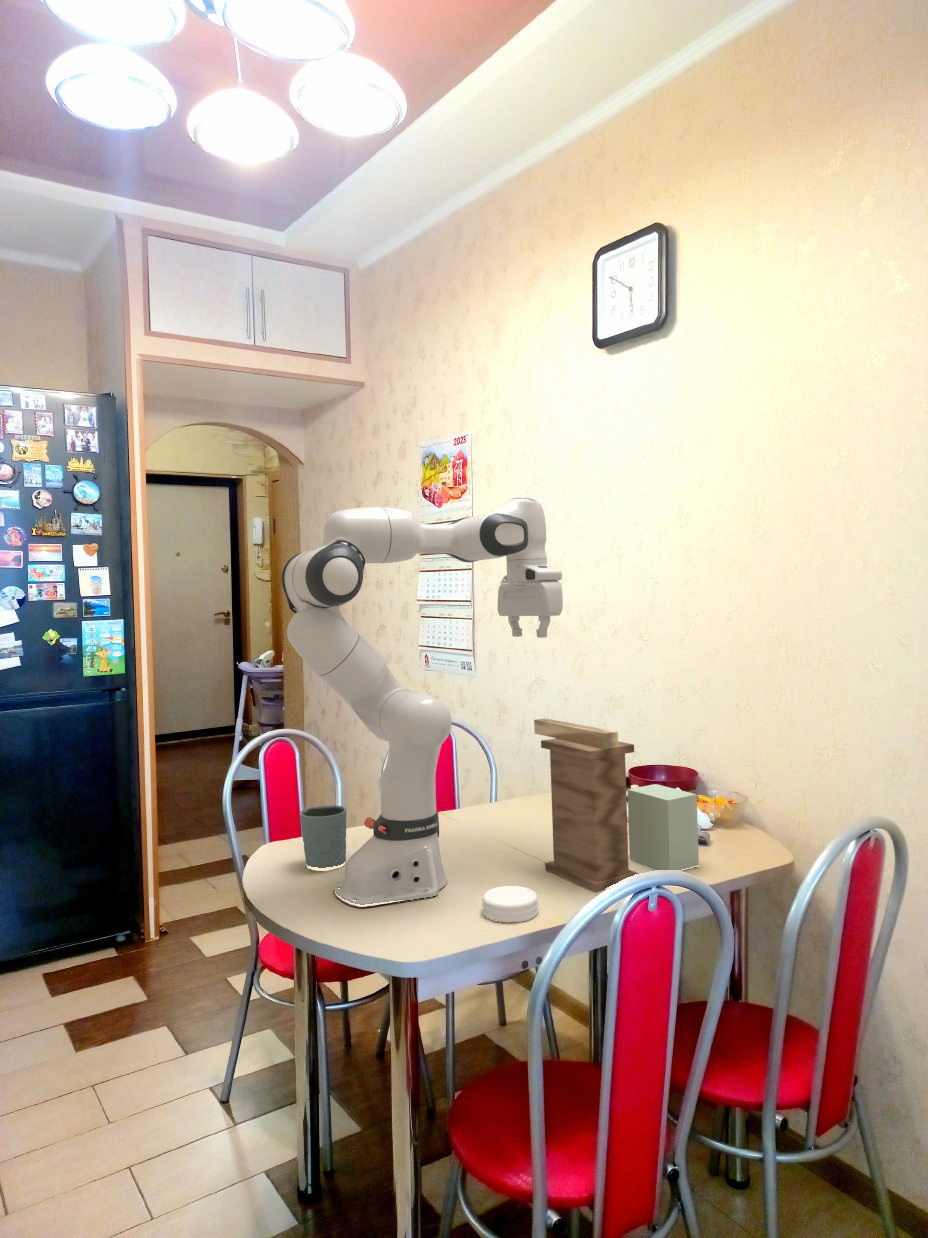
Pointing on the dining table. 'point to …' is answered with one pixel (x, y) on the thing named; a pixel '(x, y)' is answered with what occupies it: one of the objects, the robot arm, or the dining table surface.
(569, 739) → the maple rod
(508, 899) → the coaster
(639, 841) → the sage-green block
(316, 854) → the grey-green cup
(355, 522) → the robot arm
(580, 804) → the walnut pedestal
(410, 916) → the dining table surface
